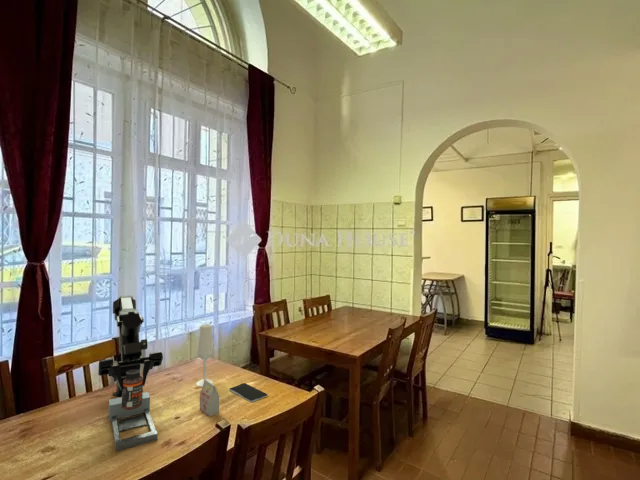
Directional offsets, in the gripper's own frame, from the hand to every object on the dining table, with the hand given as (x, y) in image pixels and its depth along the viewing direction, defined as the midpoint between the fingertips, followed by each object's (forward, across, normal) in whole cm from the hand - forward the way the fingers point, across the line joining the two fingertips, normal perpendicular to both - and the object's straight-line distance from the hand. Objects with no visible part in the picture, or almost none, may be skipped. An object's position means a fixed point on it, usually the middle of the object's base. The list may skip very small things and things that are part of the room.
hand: (133, 387), depth 113 cm
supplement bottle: (+4, 0, +6) cm, 7 cm away
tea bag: (+11, +24, +6) cm, 27 cm away
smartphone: (+7, +41, +11) cm, 43 cm away
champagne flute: (-6, +29, +24) cm, 38 cm away
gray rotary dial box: (+2, 0, +15) cm, 15 cm away
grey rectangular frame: (+10, 0, +6) cm, 12 cm away
